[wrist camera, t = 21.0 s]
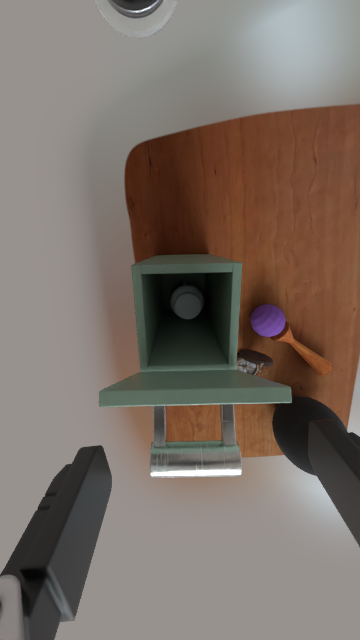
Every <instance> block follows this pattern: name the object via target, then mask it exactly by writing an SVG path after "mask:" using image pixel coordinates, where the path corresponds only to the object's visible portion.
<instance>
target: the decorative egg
mask: <svg viewBox="0 0 360 640" xmlns="http://www.w3.org/2000/svg"><path fill="white" fill-rule="evenodd" d="M324 419H333V420H335V421H336V422H337V423H338V425H339V426H340V427H341V428H342V429H343V430H344V431H345V432H346V433H348V432H347V430H346V428H345V426H344V424H343V423H342V421H341V420H340V419H339V417H338V416H337V415H336V414H335V413H334V412H333V411H332V410H331V409H330V408H328V407H327V406H326V405H324V404H322V403H321V402H319V401H317V400H314V399H312V398H308V397H303V396H295V397H292V402H291V403H280V404H279V405H278V406H277V408H276V410H275V412H274V415H273V421H272V425H273V432H274V436H275V439H276V441H277V443H278V445H279V447H280V449H281V450H282V452H283V453H284V454H285V456H286V457H287V458H288V459H289V460H290V461H291V462H292V463H293V464H294V465H296V466H297V467H298V468H300V469H301V470H303V471H305V472H307V473H309V474H312V475H316V474H315V472H314V470H313V468H312V466H311V463H310V460H309V455H308V435H309V422H310V421H316V420H324ZM316 476H317V475H316Z"/></svg>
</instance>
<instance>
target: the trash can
mask: <svg viewBox="0 0 360 640" xmlns="http://www.w3.org/2000/svg"><path fill="white" fill-rule="evenodd" d="M241 274H242V262H238V261H234V260H230V259H226V258H223V257H219V256H215V255H211V254H185V255H156V256H153V257H151V258H148V259H146V260H143V261H141V262H138V263H136V264H134V265H132V279H133V291H134V301H135V314H136V325H137V337H138V349H139V360H140V372H148V371H192V370H236V362H237V344H238V327H239V309H240V292H241ZM182 280H190V281H192V282H194V283H195V284H196V285H197V286H198V288H199V290H200V291H201V293H202V295H203V299H204V305H203V308H202V310H201V311H200V313H199V314H198V315H197V316H196V317H195V318H192V319H183V318H181V317H179V316H178V315H176V314H175V313H174V311H173V310H172V308H171V305H170V298H171V291H172V288H173V286H174V285H175V284H176V283H177V282H179V281H182Z"/></svg>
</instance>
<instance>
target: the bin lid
mask: <svg viewBox="0 0 360 640" xmlns="http://www.w3.org/2000/svg"><path fill="white" fill-rule="evenodd" d="M291 402H292V396H291V387H290V386H287V385H283V384H280V383H277V382H274V381H271V380H268V379H265V378H261V377H258V376H255V375H252V374H249V373H246V372H243V371H239V370H192V371H148V372H139V373H137V374H135V375H133V376H130V377H129V378H126V379H124V380H122V381H120V382H118V383H116V384H113V385H111V386H109V387H107V388H105V389H103V390H101V391H100V392H99V407H124V406H153V414H154V415H153V421H154V422H153V424H154V442H152V444H151V451H150V476H151V478H176V477H223V476H241V473H242V462H241V454H240V449H239V445H238V443H237V441H236V439H235V420H234V404H259V403H291ZM214 404H220V413H221V435H222V440H211V441H166V406H169V405H214Z"/></svg>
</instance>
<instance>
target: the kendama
mask: <svg viewBox="0 0 360 640" xmlns="http://www.w3.org/2000/svg"><path fill="white" fill-rule="evenodd" d="M250 322H251V326H252V328H253V330H254V331H255V332H256V333H258V334H259V335H261V336H265V337H270V338H271V339H273V340H277V341H282V342H287V343H290V344H291V345H292V346H293V347H294V349H295V350H296V351H297V352H298V353H299V354H300V355H301V356H302V357H303V358H304V360H305V361H306V362H307V363H308V364H309V365H310V366H311V367H312V368H313V369H314V371H315V372H316V373H317V374H318V375H321V376H323V375H327V374H328V373H330V372H331V370H332V364H331V363H330V362H329V361H327V360H325V359H324V358H322V357H321V356H319V355H318V354H316V353H315V352H313V351H312V350H310V349H309V348H307V347H305V346H304V345H302V344H301V343H299V342H298V341H296V340H295V339H293V335H292V332H291V329H290V326H289V323H288V322H286V319H285V316H284V313H283V311H282V310H281V309H280V308H278V307H277V306H275V305H271V304H265V305H261V306H258V307H257V308H256V309H255V310H254V311H253V313H252V314H251V320H250Z"/></svg>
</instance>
